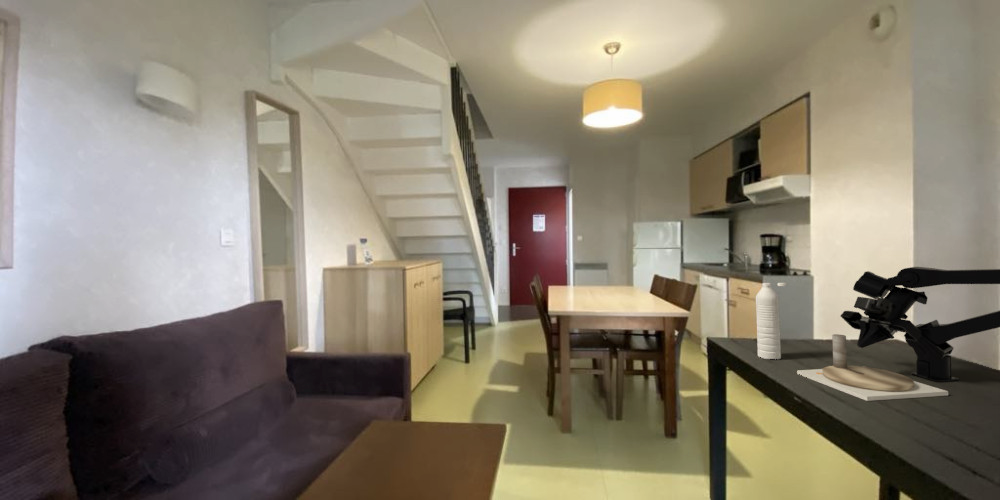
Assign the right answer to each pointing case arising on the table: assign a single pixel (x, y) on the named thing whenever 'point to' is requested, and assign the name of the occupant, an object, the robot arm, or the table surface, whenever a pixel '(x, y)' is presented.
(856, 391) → the base
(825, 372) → the dial
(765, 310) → the water bottle
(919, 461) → the table surface
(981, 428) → the table surface
